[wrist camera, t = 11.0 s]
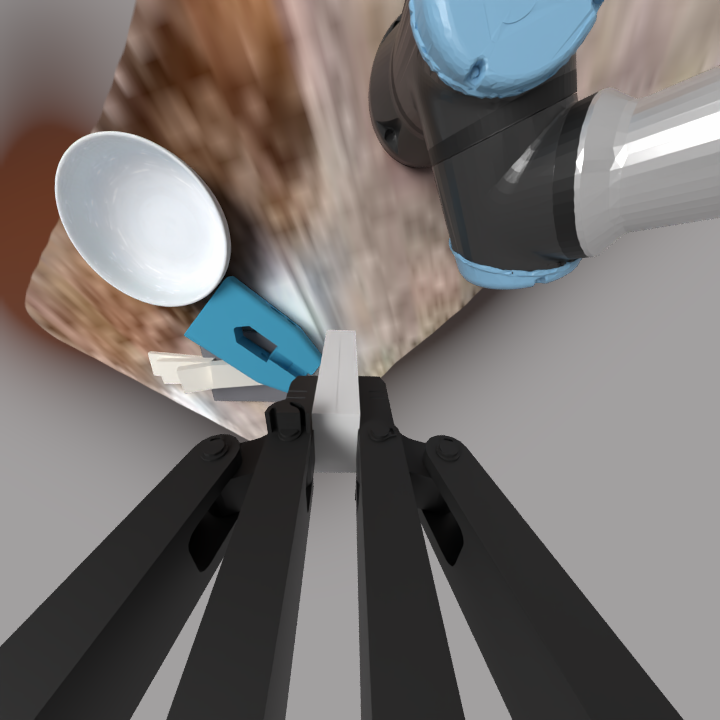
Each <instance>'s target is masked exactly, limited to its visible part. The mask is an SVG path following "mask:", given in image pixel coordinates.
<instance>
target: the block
mask: <svg viewBox="0 0 720 720" xmlns="http://www.w3.org/2000/svg"><path fill="white" fill-rule="evenodd" d="M242 326H250V327H251V328H253V329H254V330H256V331H257V332H258V333H260V334H261V335H263V336H264V337H265V338H267V339H268V340H270V341H271V342H272V343H274V344H275V345H277V347H276V348H275V349H274V351H273V352H272V353H271V354H269V353H268V352H266V351H265V350H264V349H262V348H261V347H259V346H258V345H256V344H255V343H253V342H252V341H251V340H249V339H248V338H246V337H245V336H243V331H242ZM184 336H186V337H187V338H189V339H190V340H192V341H193V342H195V343H197V344H198V345H200V346H201V347H203V348H204V349H206V350H207V351H209V352H211V353H212V354H214V355H215V356H217V357H218V358H220V359H222V360H223V361H225V362H226V363H228V364H229V365H231V366H232V367H234V368H236V369H237V370H239V371H240V372H242V373H243V374H245V375H246V376H248V377H250V378H251V379H253V380H254V381H256V382H257V383H260V384H263V385H266V386H269V387H272V388H275V389H277V390H280V391H283V392H286V393H288V390H289V387H290V384H291V382H292V381H293V380H294V379H295V378H296V377H297V376H306V375H307V374H308V373H309V374H310V375H312V374H313V373H314V372H315V371H316V370H317V368H318V367H319V366H320V364H321V359H322V354H321V353H320V352H319V350H318V349H317V348H316V347H315V345H314V344H313V343H312V341H311V340H310V339H309V338H308V336H307V335H306V334H305V333H304V331H303V330H302V329H301V327H300V326H298V325H297V324H296V323H294V322H293V321H292V320H290V319H289V318H288V317H286V316H285V315H284V314H283V313H281V312H280V311H279V310H277V309H276V308H275V307H273V306H272V305H271V304H269V303H268V302H267V301H265V300H264V299H263V298H262V297H260V296H259V295H258V294H256V293H255V292H254V291H252V290H251V289H250V288H248V287H247V286H246V285H244V284H243V283H242V282H241V281H239V280H238V279H237V278H235V277H234V276H230V277H227V278H226V279H225V280H224V281H223V282H222V284H221V285H220V286H219V288H218V289H217V290H216V292H215V293H214V295H213V296H212V297H211V299H210V300H209V301H208V303H207V304H206V305H205V307H204V308H203V309H202V311H201V312H200V314H199V315H198V316H197V318H196V319H195V320H194V322H193V323H192V324H191V326H190V327H189V328H188V330H187V331H186V333H185V334H184Z"/></svg>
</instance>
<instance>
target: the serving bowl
mask: <svg viewBox="0 0 720 720" xmlns="http://www.w3.org/2000/svg"><path fill="white" fill-rule="evenodd" d="M55 196H56V202H57V208H58V211H59V215H60V218H61V220H62V223H63V225H64V228H65V230H66V232H67V234H68V236H69V238H70V240H71V241H72V243H73V244H74V246H75V248H76V249H77V250H78V252H79V253H80V254H81V256H82V257H83V258H84V260H85V261H86V262H87V263H88V264H89V265H90V266H91V267H92V269H93V270H94V271H95V272H97V273H98V274H99V275H100V276H101V277H102V278H103V279H104V280H106V281H107V282H108V283H109V284H111V285H112V286H114V287H115V288H117V289H118V290H120V291H121V292H123V293H125V294H127V295H129V296H131V297H133V298H135V299H138V300H140V301H143V302H146V303H149V304H153V305H159V306H167V307H176V306H184V305H189V304H192V303H195V302H197V301H200V300H201V299H203V298H205V297H206V296H208V295H209V294H210V293H211V292H212V291H213V290H214V289H215V288H216V287H217V286H218V284H219V283H220V282H221V280H222V279H223V277H224V275H225V273H226V271H227V268H228V265H229V261H230V255H231V240H230V232H229V228H228V224H227V221H226V218H225V215H224V213H223V210H222V208H221V206H220V204H219V202H218V201H217V199H216V197H215V196H214V194H213V193H212V191H211V190H210V188H209V187H208V186H207V184H206V183H205V182H204V181H203V180H202V178H201V177H200V176H199V175H198V174H197V173H196V172H195V171H194V170H193V169H192V168H191V167H190V166H188V165H187V164H186V163H185V162H184V161H182V160H181V159H180V158H178V157H177V156H176V155H174V154H173V153H171V152H170V151H168V150H166V149H165V148H163V147H161V146H160V145H158V144H156V143H154V142H152V141H149V140H147V139H145V138H142V137H139V136H136V135H133V134H129V133H123V132H116V131H105V132H97V133H93V134H90V135H87V136H85V137H82V138H81V139H79V140H77V141H76V142H75V143H74V144H72V145H71V146H70V147H69V148H68V149H67V151H66V152H65V153H64V155H63V157H62V158H61V160H60V162H59V165H58V168H57V172H56V178H55Z"/></svg>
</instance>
